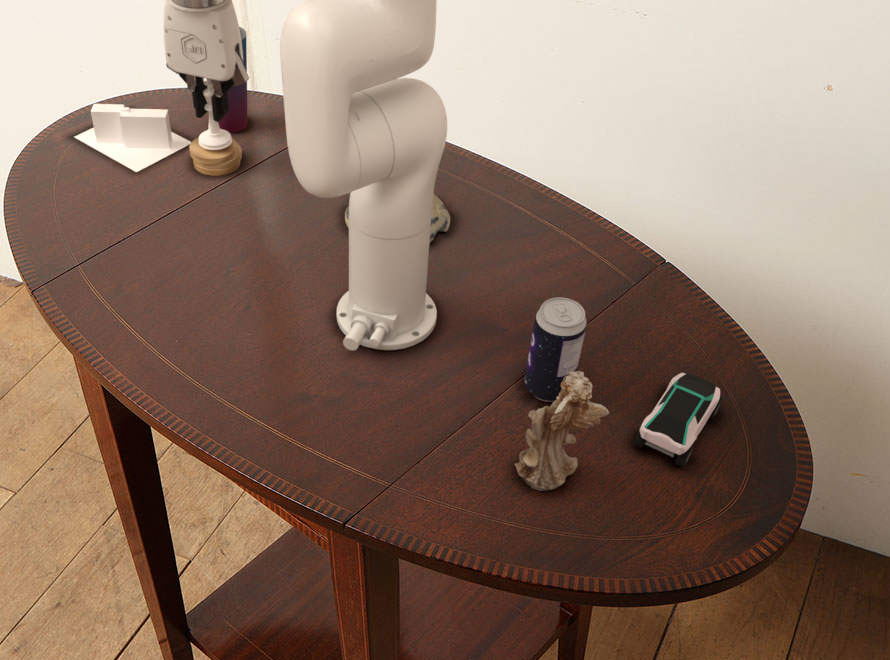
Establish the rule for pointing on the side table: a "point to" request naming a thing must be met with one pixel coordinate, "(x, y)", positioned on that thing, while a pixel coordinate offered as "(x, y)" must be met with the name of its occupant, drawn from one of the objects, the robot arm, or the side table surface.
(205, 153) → the chip pile
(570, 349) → the beverage can
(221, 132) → the chess piece
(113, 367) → the side table surface
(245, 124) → the cup
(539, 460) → the figurine
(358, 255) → the robot arm
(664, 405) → the toy car
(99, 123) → the napkin holder
